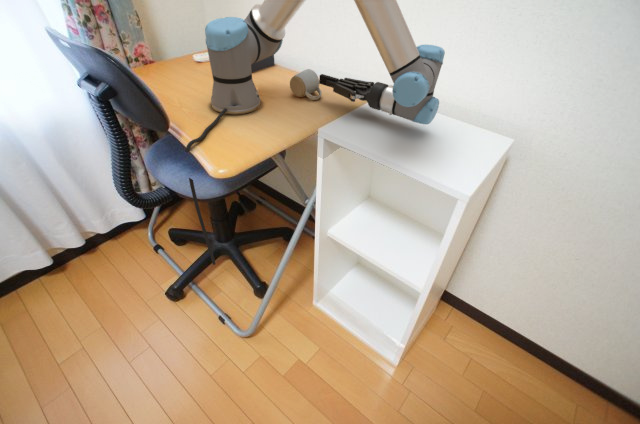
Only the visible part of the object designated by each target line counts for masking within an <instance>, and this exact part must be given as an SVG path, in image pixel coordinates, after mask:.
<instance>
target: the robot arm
mask: <svg viewBox="0 0 640 424" xmlns="http://www.w3.org/2000/svg"><path fill="white" fill-rule="evenodd" d="M306 1H307V0H263V2H262V3H261V4H260V3H257V4H254V5H253V6H252V8H251V9H250V10H249V13H248V14H247V16H246V17H245V19H243V18H241V17H237V16H226V17H225V16H224V17H219V18H215V19H212V20H211V21H209V22H208V23H207V24H206V25H205V28H204V34H205V35H204V36H205V45H206V49H207V54H208V59H209V65H210V70H211V75H212V80H213V81H212V82H213V83H212V89H211V90H212V92H211V98H210V104H211V108H212V109H213V110H214V111H216V112H218V113H219V114H218V115H217V117H216V118H214V120H213V121H212V122H211V123H210V124H209V125H208V126H207V127H206V128H205V129H204V130H203V132H202V134H201V135H200V136H199V137H197V138H194V139H191V140H190V141H189V142H188V143H187V144H186V147H185V150H184V152H185V153H188V152H190V150H191V148H192V146H193V145H194V144H196V143H199V142H201V141H203V140H204V139H205V137H206V136H207V134H208V132H209V131H210V130H212V129H213V128H214V127H215V126H216V125H217V124H218V122H219V121H220V120H221V119H222V117H223V116H224V115H234V116H235V115H236V116H237V115H245V114H249V113H253V112H255V111H256V110H258V109H259V108H260V107H261V97H260V94H259V93H260V92H259V91H260V90H259V89H257V88H256V85H255V83H254V80H253V73H252V71H251V64H254V63H256V62H258V61H261V60H263V59H266V58H269V57H271V56H273V55H274V56H275V55H276V54H277V53H278V52H279V51H280V50H281V48H282V44H283V41H284V40H283V39H284V38H285V37H286V27H287V25H288V24H289V23H290V21H291V20H292V19H293V18H294V17H295V15H296V14H297V13H298V11H299V10H300V8H301V7H302V6H303V5H304V4H305V2H306ZM353 2H354V4H355V5H356V8H357V10H358V11H359V14H360V16H361V18H362V20H363V22H364V24H365V26H366V28H367V31H368V32H369V35H370V37H371V39H372V41H373V43H374V45H375V47H376V49H377V51H378V53H379V56H380V57H381V59H382V61H383V64H384V66H385V68H386V70H387V72H388V74H389V76H390V78H391V80H392V83H393V85H392V84H390V85H389V84H388V83H383V82H380V81H375V82H374V81H365V80H361V79H360V80H359V79H355V78H350V77H344V78H337V77H334V76H330V75H327V74H324V73H321V74H319V85H322V86H326V87H328V88H332V92H333V93H335V94H338V95H340V96H341V97H344V98H346V99H348V101H351V102H353V103H354V102H356V100H358V99H359V100H360V101H362V102H364V101H365V102H367V105H368V107H369V108H370V109H373V110H377V111H381V112H382V113H383V112H384V113H386V114H389V116H396V117H399V118H402V119H404V120H407V121H411V122H413V123H417V124H421V125H429V124H431V123H432V122H433V120H434V119H435V117H436V115H437V113H438V110H439V107H440V99H439V98H437V97H436V96H434V95H435V94H434V93H435V88H436V85H437V83H438V79H439V76H440V72H441V69H442V65H443V64H444V58H445V53H446V52H445V49H444V48H443V47H441V46H438V45H434V44H420V45H416V42H415V40H414V38H413V35H412V32H411V31H410V28H409V26H408V24H407V21H406V19H405V17H404V15H403V13H402V10H401V8H400V5H399V3H398V1H397V0H353ZM188 182H189V186H190V191H191V195H192V199H193V203H194V206H195V210H196V214H197V218H198V221H199V225H200V228H201V230H202V233H203V237H204V240H205V243H206V246H207V249H208V252H209V256H210V259H211V263H212V265H213V266H215V265H216V264H217V263H216V260H215V256H214V253H213V249H212V245H211V243H210V239H209V236H208V232H207V229H206V226H205V223H204V219H203V216H202V212H201V207H200V205H199V201H198V197H197V193H196V189H195V188H196V187H195V183H194V180H193V179H192V178H190V177H188Z"/></svg>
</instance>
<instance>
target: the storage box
mask: <svg viewBox="0 0 640 424" xmlns="http://www.w3.org/2000/svg"><path fill="white" fill-rule="evenodd" d="M273 66H275V54H274V55H273V56H271V57H269V58H266V59H263V60H261V61H258V62H256V63H254V64H251V71H252V74H253V73H256V72H259V71H262V70H266V69H268V68H270V67H273Z"/></svg>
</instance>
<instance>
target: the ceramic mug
mask: <svg viewBox="0 0 640 424" xmlns="http://www.w3.org/2000/svg"><path fill="white" fill-rule="evenodd" d="M319 79H320V77H319V76H318V74H317V73H316V71H314V70H313V69H311V68H307V69H304V70H302V71H300V72H298V73H296V74H294V75H293V76H292V77H291V78H290V81H289V88H290V92H292V94H293V95H294V96H295V97H297V98H303V97H306V98H308V99H310V100H312V101H318V100H320V99H321V97H322V91H321V89H320V84H319ZM315 92H317V94H318V95H312V94H313V93H315Z"/></svg>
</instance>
